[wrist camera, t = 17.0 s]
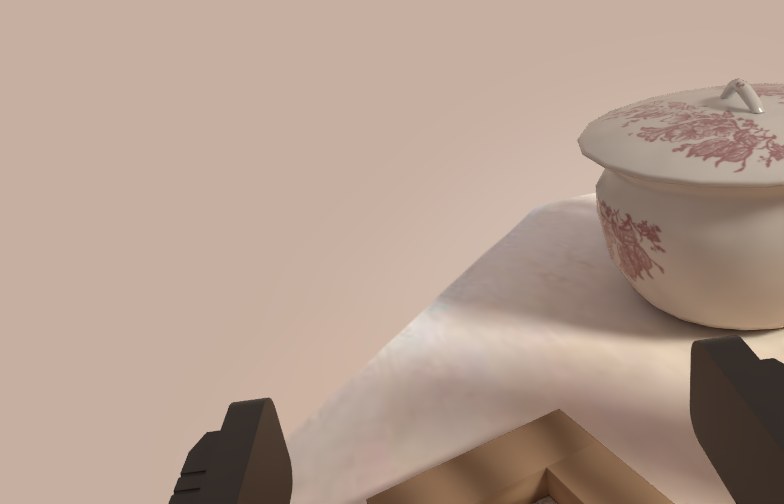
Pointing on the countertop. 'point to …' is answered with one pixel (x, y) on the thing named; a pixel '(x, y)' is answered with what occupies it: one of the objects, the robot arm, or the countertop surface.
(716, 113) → the chamber pot
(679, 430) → the countertop surface
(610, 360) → the countertop surface
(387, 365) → the countertop surface
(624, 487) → the socket board
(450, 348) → the countertop surface
